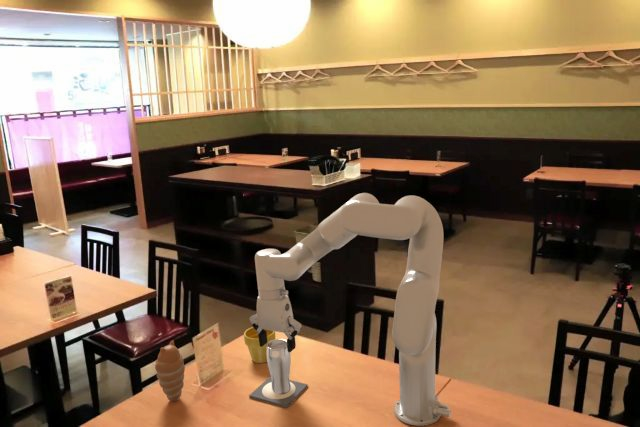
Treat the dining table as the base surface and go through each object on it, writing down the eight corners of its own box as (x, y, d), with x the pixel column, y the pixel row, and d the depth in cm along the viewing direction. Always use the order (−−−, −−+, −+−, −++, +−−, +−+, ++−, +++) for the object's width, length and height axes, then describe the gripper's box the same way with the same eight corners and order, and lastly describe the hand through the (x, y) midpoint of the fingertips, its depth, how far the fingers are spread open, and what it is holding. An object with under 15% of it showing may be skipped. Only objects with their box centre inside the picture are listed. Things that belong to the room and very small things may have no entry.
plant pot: (246, 352, 183) (244, 326, 180) (276, 349, 184) (274, 323, 181) (245, 367, 173) (243, 340, 170) (277, 364, 174) (275, 337, 171)
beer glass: (282, 399, 152) (278, 352, 149) (264, 392, 156) (260, 346, 153) (297, 388, 157) (294, 342, 154) (280, 381, 162) (276, 336, 158)
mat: (307, 386, 160) (307, 384, 159) (286, 408, 149) (286, 405, 149) (271, 377, 166) (271, 375, 165) (249, 397, 155) (249, 394, 155)
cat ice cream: (174, 389, 162) (167, 335, 158) (194, 394, 158) (188, 339, 154) (153, 405, 154) (146, 348, 150) (174, 411, 151) (167, 353, 147)
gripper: (304, 290, 149) (309, 346, 153) (254, 284, 157) (260, 337, 161) (290, 300, 143) (296, 358, 147) (239, 293, 151) (245, 348, 155)
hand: (277, 347), depth 154 cm, fingers open, 9 cm apart
